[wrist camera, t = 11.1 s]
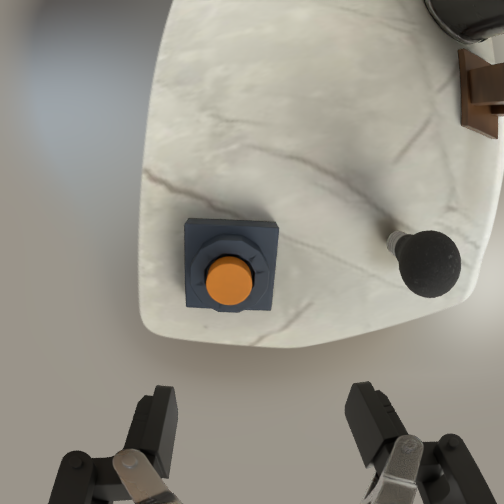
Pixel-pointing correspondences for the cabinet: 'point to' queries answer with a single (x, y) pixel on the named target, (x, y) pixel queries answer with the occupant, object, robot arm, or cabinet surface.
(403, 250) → the light bulb
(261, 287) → the dimmer box
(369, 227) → the cabinet surface
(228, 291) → the button
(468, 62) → the switch bracket
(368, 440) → the robot arm
